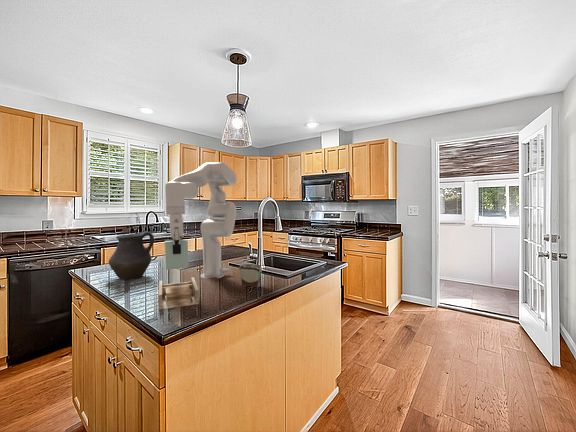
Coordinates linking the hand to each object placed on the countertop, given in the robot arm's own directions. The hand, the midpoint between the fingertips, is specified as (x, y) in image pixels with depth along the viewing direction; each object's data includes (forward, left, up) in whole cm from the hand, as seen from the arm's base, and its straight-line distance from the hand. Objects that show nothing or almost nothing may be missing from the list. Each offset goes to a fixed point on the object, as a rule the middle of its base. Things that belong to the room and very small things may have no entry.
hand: (176, 252), depth 122 cm
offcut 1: (0, +9, -15) cm, 18 cm away
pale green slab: (0, 0, -7) cm, 7 cm away
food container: (-35, -3, -20) cm, 40 cm away
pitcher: (+21, -43, -20) cm, 52 cm away
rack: (0, +6, -19) cm, 20 cm away
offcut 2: (0, +9, -16) cm, 19 cm away
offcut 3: (0, +9, -18) cm, 20 cm away
